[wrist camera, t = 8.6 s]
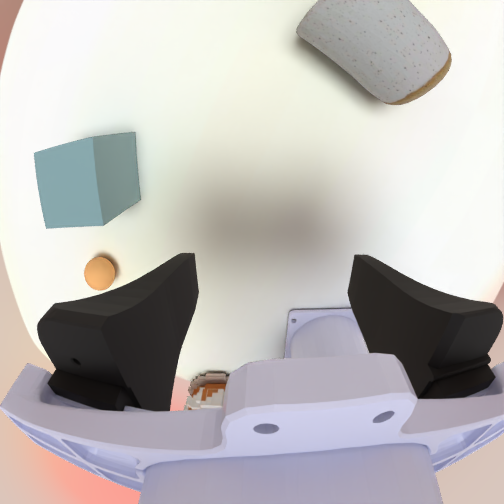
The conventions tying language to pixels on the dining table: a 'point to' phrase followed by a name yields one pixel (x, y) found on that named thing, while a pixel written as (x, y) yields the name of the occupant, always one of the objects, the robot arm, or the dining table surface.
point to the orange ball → (99, 273)
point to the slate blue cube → (87, 180)
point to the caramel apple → (207, 392)
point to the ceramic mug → (379, 45)
